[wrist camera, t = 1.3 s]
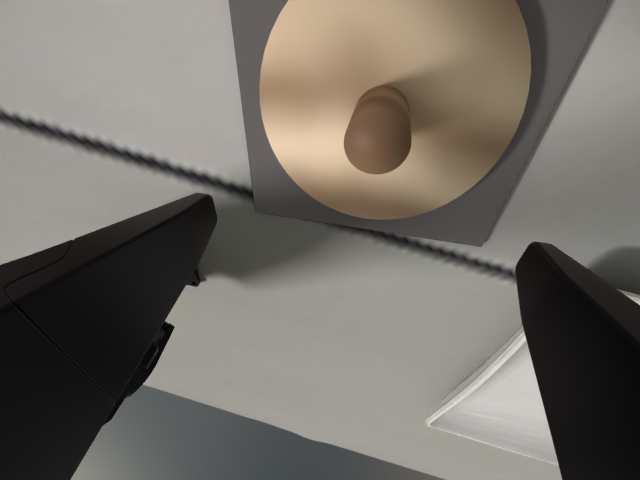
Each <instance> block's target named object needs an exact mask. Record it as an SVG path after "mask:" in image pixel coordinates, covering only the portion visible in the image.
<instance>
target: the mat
mask: <svg viewBox="0 0 640 480" xmlns="http://www.w3.org/2000/svg"><path fill="white" fill-rule="evenodd" d="M515 1H516V3H517V4H518V6H519V8H520V11H521V14H522V17H523V20H524V22H525V25H526V28H527V33H528V39H529V44H530V51H531V76H530V86H529V93H528V97H527V101H526V105H525V109H524V112H523V115H522V118H521V120H520V123H519V125H518V128H517V130H516V132H515V134H514V136H513V138H512V140H511V141H510V143H509V145H508V147H507V148H506V150H505V151H504V153H503V154H502V156H501V157H500V158H499V160H498V161H497V162H496V164H495V165H494V166H493V167H492V168H491V169H490V170H489V172H488V173H487V174H486V175H485V176H484V177H483V178H482V179H481V180H480V181H478V182H477V183H476V184H475V185H474V186H473V187H472V188H470V189H469V190H467V191H466V192H465V193H463V194H462V195H461V196H459V197H457V198H456V199H454V200H452V201H451V202H449V203H447V204H445V205H443V206H441V207H439V208H436V209H434V210H432V211H429V212H426V213H423V214H420V215H416V216H411V217H407V218H400V219H387V220H377V219H366V218H360V217H355V216H351V215H348V214H345V213H341V212H339V211H336V210H334V209H332V208H329V207H327V206H326V205H324V204H322V203H320V202H319V201H317V200H315V199H314V198H313V197H311V196H310V195H309V194H307V193H306V192H305V191H304V190H303V189H301V188H300V187H299V186H298V185H297V184H296V183H295V182H294V181H293V180H292V178H291V177H290V176H289V175H288V174H287V173H286V171H285V170H284V168H283V167H282V165H281V164H280V162H279V161H278V159H277V157H276V155H275V153H274V152H273V150H272V148H271V145H270V142H269V140H268V137H267V135H266V131H265V128H264V124H263V120H262V114H261V107H260V91H259V84H260V73H261V65H262V61H263V56H264V51H265V48H266V45H267V42H268V39H269V36H270V33H271V30H272V28H273V26H274V24H275V22H276V20H277V18H278V16H279V14H280V12H281V11H282V9H283V8H284V6H285V5H286V3H287V2H288V0H229V6H230V14H231V22H232V30H233V38H234V46H235V54H236V61H237V69H238V77H239V85H240V93H241V101H242V109H243V117H244V125H245V133H246V141H247V149H248V157H249V165H250V173H251V181H252V189H253V197H254V205H255V212H258V213H265V214H271V215H278V216H284V217H291V218H297V219H304V220H310V221H317V222H323V223H330V224H336V225H343V226H349V227H356V228H362V229H369V230H375V231H382V232H388V233H395V234H401V235H408V236H414V237H421V238H427V239H434V240H440V241H447V242H453V243H460V244H466V245H473V246H479V247H482V245H483V243H484V241H485V239H486V237H487V235H488V233H489V231H490V229H491V227H492V225H493V223H494V221H495V219H496V218H497V216H498V214H499V212H500V210H501V208H502V206H503V204H504V202H505V200H506V198H507V196H508V194H509V192H510V190H511V188H512V186H513V184H514V182H515V180H516V179H517V177H518V175H519V173H520V171H521V169H522V167H523V165H524V163H525V161H526V159H527V157H528V155H529V153H530V151H531V149H532V147H533V145H534V143H535V141H536V139H537V138H538V136H539V134H540V132H541V130H542V128H543V126H544V124H545V122H546V120H547V118H548V116H549V114H550V112H551V110H552V108H553V106H554V104H555V102H556V100H557V98H558V97H559V95H560V93H561V91H562V89H563V87H564V85H565V83H566V81H567V79H568V77H569V75H570V73H571V71H572V69H573V67H574V65H575V63H576V61H577V59H578V57H579V56H580V54H581V52H582V50H583V48H584V46H585V44H586V42H587V40H588V38H589V36H590V34H591V32H592V30H593V28H594V26H595V24H596V22H597V20H598V18H599V16H600V15H601V13H602V11H603V9H604V7H605V5H606V3H607V1H608V0H515Z"/></svg>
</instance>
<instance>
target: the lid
mask: <svg viewBox="0 0 640 480" xmlns="http://www.w3.org/2000/svg"><path fill="white" fill-rule="evenodd" d="M530 76H531V51H530V44H529V39H528V33H527V28H526V25H525V22H524V20H523V17H522V14H521V11H520V8H519V6H518V4H517V3H516V1H515V0H288V2H287V3H286V5H285V6H284V8H283V9H282V11H281V12H280V14H279V16H278V18H277V20H276V22H275V24H274V26H273V28H272V30H271V33H270V36H269V39H268V42H267V45H266V48H265V51H264V56H263V61H262V65H261V73H260V84H259V91H260V107H261V114H262V120H263V124H264V128H265V131H266V135H267V137H268V140H269V142H270V145H271V148H272V150H273V152H274V153H275V155H276V157H277V159H278V161H279V162H280V164H281V165H282V167H283V168H284V170H285V171H286V173H287V174H288V175H289V176H290V177H291V178H292V180H293V181H294V182H295V183H296V184H297V185H298V186H299V187H300V188H301V189H303V190H304V191H305V192H306V193H307V194H309V195H310V196H311V197H313V198H314V199H315V200H317V201H319V202H320V203H322V204H324V205H326V206H327V207H329V208H332V209H334V210H336V211H339V212H341V213H345V214H348V215H351V216H355V217H360V218H366V219H377V220H387V219H400V218H407V217H411V216H416V215H420V214H423V213H426V212H429V211H432V210H434V209H436V208H439V207H441V206H443V205H445V204H447V203H449V202H451V201H452V200H454V199H456V198H457V197H459V196H461V195H462V194H463V193H465V192H466V191H467V190H469V189H470V188H472V187H473V186H474V185H475V184H476V183H477V182H478V181H480V180H481V179H482V178H483V177H484V176H485V175H486V174H487V173H488V172H489V170H490V169H491V168H492V167H493V166H494V165H495V164H496V162H497V161H498V160H499V158H500V157H501V156H502V154H503V153H504V151H505V150H506V148H507V147H508V145H509V143H510V141H511V140H512V138H513V136H514V134H515V132H516V130H517V128H518V125H519V123H520V120H521V118H522V115H523V112H524V109H525V105H526V101H527V97H528V93H529V86H530Z"/></svg>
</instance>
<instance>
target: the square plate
mask: <svg viewBox="0 0 640 480" xmlns="http://www.w3.org/2000/svg"><path fill="white" fill-rule="evenodd" d="M617 290H619V289H617ZM619 291H620V292H622V293H623V294H625V295H626V296H627V297H629V298H630V299H632V300H633V301H635V302H636V303H638V304H639V305H640V295H638V294H635V293H631V292H627V291H623V290H619ZM425 424H426V425H428V426H429V427H432V428H435V429H438V430H442V431H445V432H449V433H452V434H455V435H459V436H462V437H465V438H469V439H472V440H475V441H478V442H482V443H485V444H488V445H491V446H495V447H498V448H501V449H504V450H508V451H511V452H514V453H517V454H521V455H524V456H527V457H531V458H534V459H538V460H542V461H545V462H548V463H552V464H555V465H559V464H558V460H557V456H556V453H555V449H554V445H553V441H552V437H551V433H550V429H549V425H548V422H547V418H546V414H545V410H544V406H543V402H542V398H541V395H540V391H539V387H538V383H537V379H536V375H535V371H534V368H533V364H532V360H531V356H530V352H529V348H528V344H527V340H526V337H525V333H524V329H523V326H522V327H521V328H520V329H519V330H518V331H517V332H516V333H515V334H514V335H513V336H512V337H511V338H510V339H509V340H508V341H507V342H506V343H505V344H504V345H503V346H502V347H501V348H500V349H499V350H498V351H497V352H496V353H495V354H494V355H493V356H492V357H490V358H489V359H488V360H487V361H486V362H485V363H484V364H483V365H482V366H481V367H480V368H478V369H477V370H476V371H475V372H474V373H473V374H472V375H470V376H469V377H468V378H467V379H466V380H464V381H463V382H462V383H461V384H460V385H459V386H457V387H456V388H455V389H454V390H453V391H452V392H450V393H449V394H448V395H447V396H446V397H445V398H444V399H443V400H442V401H441V402H440V403H439V404H438V406H437V407H436V408H435V409H434V410H433V411H432V413H431V414H430V415H429V416H428V417H427V419H426V420H425Z"/></svg>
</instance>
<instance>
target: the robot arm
mask: <svg viewBox="0 0 640 480" xmlns="http://www.w3.org/2000/svg"><path fill="white" fill-rule="evenodd" d="M216 223H217V215H216V211H215V206H214V202H213V198H212V196H211V195H209V194H203V193H195V194H192V195H190V196H187V197H184V198H182V199H179V200H176V201H174V202H171V203H168V204H166V205H163V206H160V207H158V208H155V209H152V210H150V211H147V212H144V213H142V214H139V215H136V216H134V217H131V218H128V219H126V220H123V221H120V222H118V223H115V224H112V225H110V226H107V227H104V228H102V229H99V230H96V231H94V232H91V233H88V234H86V235H83V236H81V237H78V238H75V239H74V240H70V241H67V242H64V243H62V244H59V245H56V246H54V247H51V248H48V249H45V250H43V251H40V252H37V253H34V254H32V255H29V256H26V257H23V258H20V259H17V260H14V261H11V262H8V263H5V264H2V265H0V480H70V479H71V477H72V476H73V474H74V473H75V471H76V469H77V467H78V466H79V464H80V463H81V461H82V459H83V458H84V456H85V454H86V452H87V451H88V449H89V447H90V446H91V444H92V442H93V441H94V439H95V437H96V436H97V434H98V432H99V430H100V429H101V427H102V426H103V425H104V424H106V423H107V422H108V421H110V420H111V419H112V417H113V416H114V414H115V413H116V411H117V410H118V408H119V406H120V405H121V404H122V402H123V401H124V399H125V398H127V397H129V396H130V395H132V394H133V393H134V392H135V391H136V390H137V389H138V388H139V387H140V386H141V385H142V384H143V383H144V382H145V381H146V379H147V378H148V377H149V375H150V374H151V372H152V371H153V369H154V368H155V366H156V364H157V362H158V360H159V358H160V356H161V354H162V352H163V350H164V348H165V346H166V344H167V342H168V340H169V338H170V336H171V334H172V331H173V329H174V326H173V325H171V324H170V323H169V324H168V323H167V322H165V319H166V318H167V316H168V314H169V313H170V311H171V309H172V308H173V306H174V304H175V303H176V301H177V299H178V297H179V296H180V294H181V292H182V291H183V289H184V287H185V286H186V285H190V286H195V287H197V286H198V285H199V284H200V279H199V276H198V273H197V270H196V267H197V265H198V263H199V261H200V259H201V257H202V255H203V253H204V251H205V248H206V246H207V244H208V242H209V239H210V237H211V235H212V233H213V230H214V228H215V226H216ZM515 273H516V281H517V289H518V297H519V305H520V313H521V319H522V324H523V329H524V333H525V337H526V340H527V344H528V348H529V352H530V356H531V360H532V364H533V368H534V371H535V375H536V379H537V383H538V387H539V391H540V395H541V398H542V402H543V406H544V410H545V414H546V418H547V422H548V425H549V429H550V433H551V437H552V441H553V445H554V449H555V453H556V456H557V460H558V464H559V468H560V472H561V476H562V480H640V305H639V304H638V303H636V302H635V301H633V300H632V299H630V298H629V297H627V296H626V295H625V294H623V293H622V292H620V291H619V290H617V289H616V288H614V287H613V286H612V285H610V284H609V283H607V282H606V281H604V280H603V279H601V278H600V277H598V276H597V275H596V274H594V273H593V272H591V271H590V270H588V269H587V268H585V267H584V266H582V265H581V264H580V263H578V262H577V261H575V260H574V259H572V258H571V257H569V256H568V255H566V254H565V253H564V252H562V251H561V250H559V249H558V248H556V247H555V246H553V245H552V244H549V243H542V242H532V243H531V244H529V246H528V247H527V249H526V250H525V252H524V253H523V255H522V257H521V258H520V260H519V261H518V263H517V265H516V269H515Z"/></svg>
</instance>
